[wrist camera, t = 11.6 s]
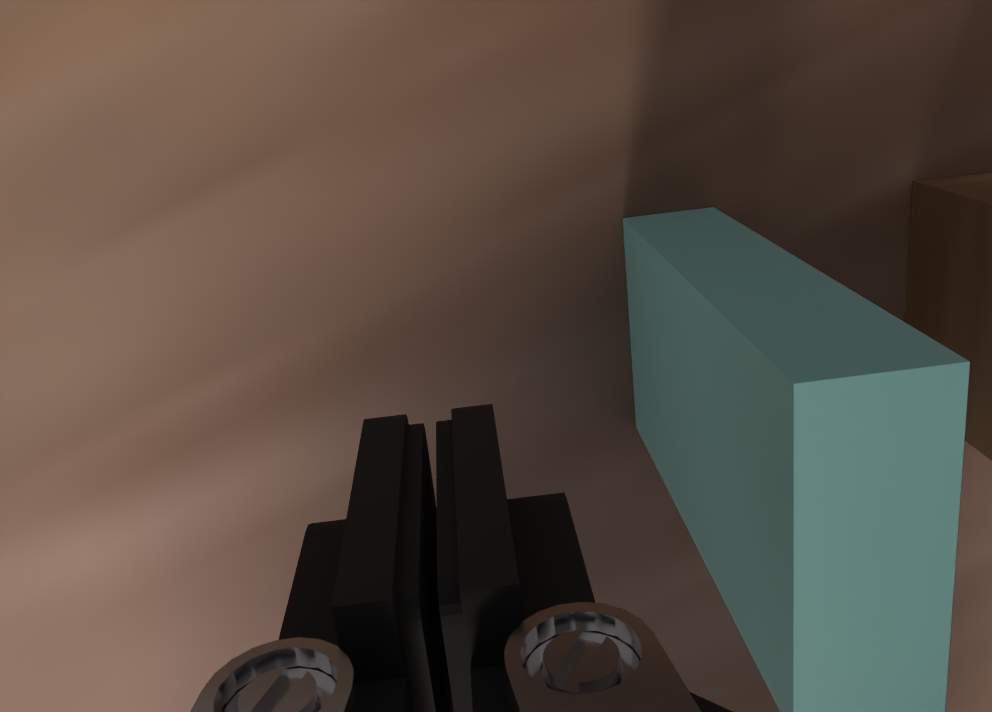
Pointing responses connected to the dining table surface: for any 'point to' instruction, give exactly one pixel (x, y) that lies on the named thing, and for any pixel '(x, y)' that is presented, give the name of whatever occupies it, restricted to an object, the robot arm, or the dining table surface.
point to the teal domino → (802, 459)
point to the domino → (956, 283)
